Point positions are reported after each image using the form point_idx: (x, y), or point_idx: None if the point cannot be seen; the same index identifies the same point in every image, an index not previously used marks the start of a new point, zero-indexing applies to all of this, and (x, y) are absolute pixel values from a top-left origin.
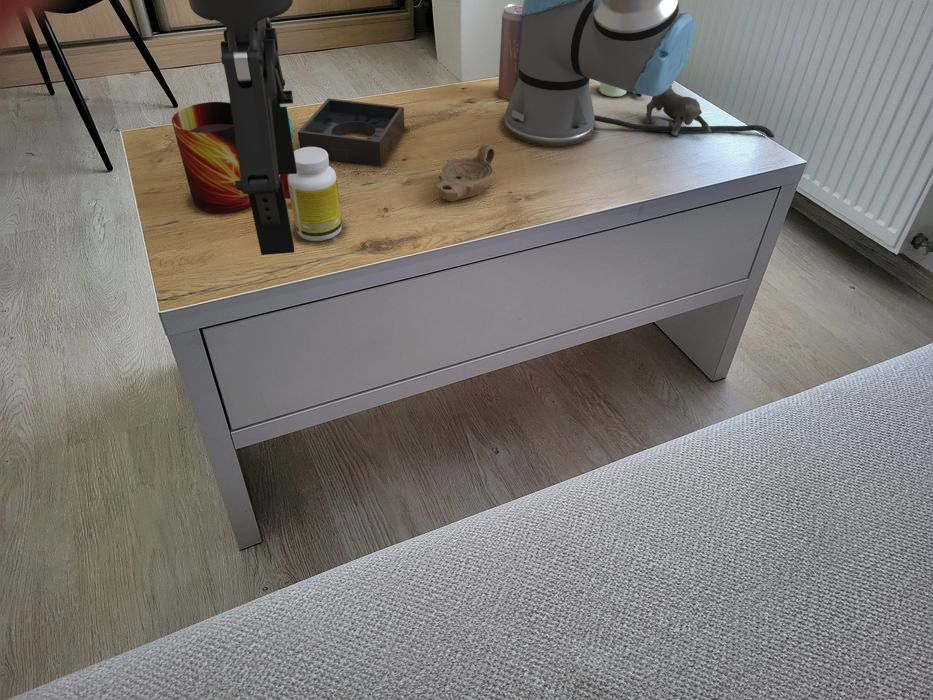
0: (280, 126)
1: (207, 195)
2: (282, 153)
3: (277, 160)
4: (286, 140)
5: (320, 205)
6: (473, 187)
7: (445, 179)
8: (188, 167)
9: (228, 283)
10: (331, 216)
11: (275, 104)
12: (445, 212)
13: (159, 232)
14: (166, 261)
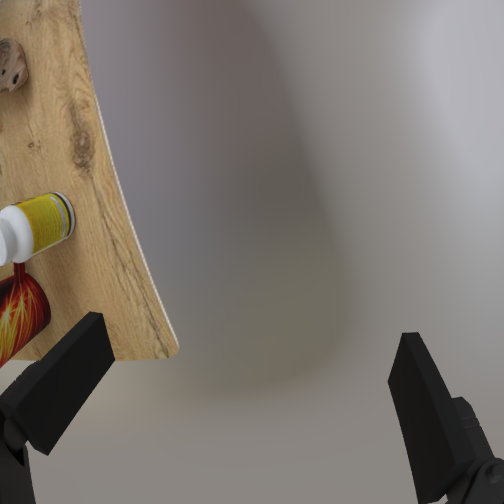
0: (47, 396)
1: (39, 324)
2: (83, 359)
3: (94, 360)
4: (63, 367)
5: (44, 221)
6: (19, 52)
7: (5, 83)
8: (23, 346)
9: (142, 307)
10: (51, 205)
11: (10, 424)
12: (39, 79)
13: None
14: (115, 353)
